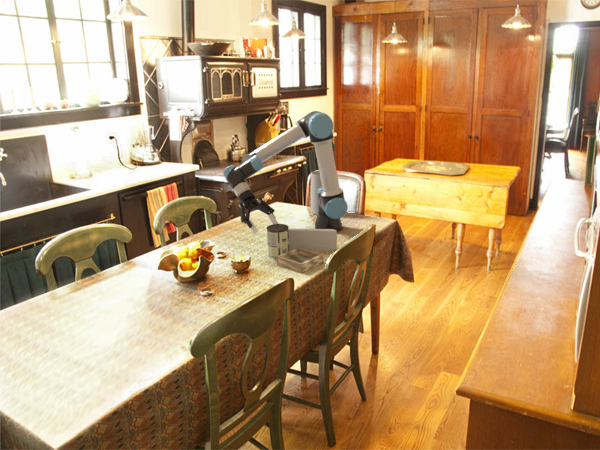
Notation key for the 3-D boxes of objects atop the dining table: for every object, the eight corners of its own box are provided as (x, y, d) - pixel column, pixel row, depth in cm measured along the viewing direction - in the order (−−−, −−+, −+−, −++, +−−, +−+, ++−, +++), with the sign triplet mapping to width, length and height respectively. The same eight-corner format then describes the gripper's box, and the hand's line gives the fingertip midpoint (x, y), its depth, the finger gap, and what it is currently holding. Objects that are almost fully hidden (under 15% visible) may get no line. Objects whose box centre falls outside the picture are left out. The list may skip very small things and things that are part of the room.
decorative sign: (336, 247, 240) (336, 228, 237) (336, 250, 237) (336, 231, 234) (272, 246, 244) (271, 227, 241) (271, 249, 241) (270, 229, 238)
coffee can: (274, 250, 239) (272, 222, 234) (293, 252, 235) (292, 225, 230) (263, 257, 230) (262, 228, 226) (283, 260, 226) (282, 231, 221)
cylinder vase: (310, 215, 295) (309, 174, 288) (312, 209, 307) (312, 170, 299) (330, 215, 293) (330, 175, 285) (332, 210, 305) (332, 170, 297)
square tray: (298, 255, 231) (298, 247, 230) (323, 262, 221) (323, 254, 220) (276, 264, 220) (276, 256, 219) (301, 273, 211) (301, 264, 210)
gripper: (259, 193, 248) (281, 227, 243) (221, 203, 231) (243, 239, 226) (266, 184, 243) (288, 218, 238) (227, 194, 226) (250, 231, 221)
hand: (266, 229), depth 232 cm, fingers open, 13 cm apart
